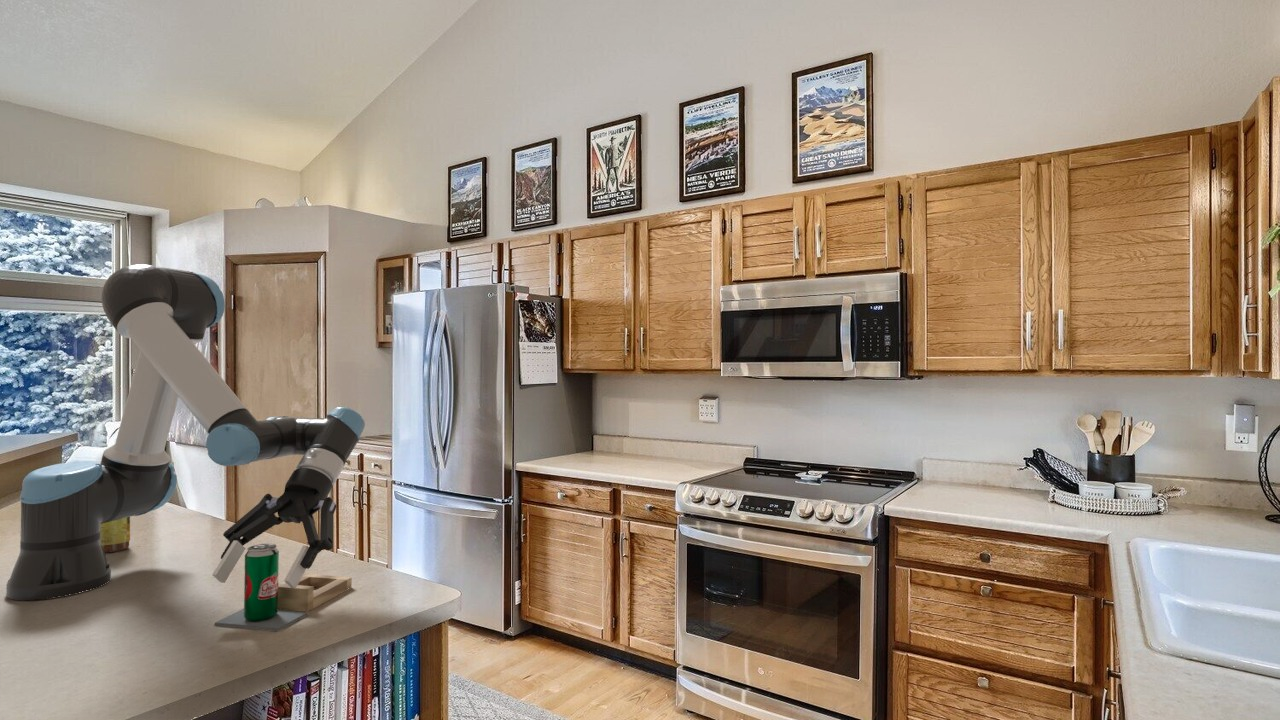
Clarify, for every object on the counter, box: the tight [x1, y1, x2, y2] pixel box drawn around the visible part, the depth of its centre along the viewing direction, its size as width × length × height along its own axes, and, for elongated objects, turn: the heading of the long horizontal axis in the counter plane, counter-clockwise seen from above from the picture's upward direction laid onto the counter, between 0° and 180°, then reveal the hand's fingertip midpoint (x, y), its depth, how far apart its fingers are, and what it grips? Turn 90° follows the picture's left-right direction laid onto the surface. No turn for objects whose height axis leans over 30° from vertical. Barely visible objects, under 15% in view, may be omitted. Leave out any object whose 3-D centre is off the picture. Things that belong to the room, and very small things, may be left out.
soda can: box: [243, 543, 280, 622], centre depth 113 cm, size 5×5×12 cm
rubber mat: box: [214, 608, 308, 632], centre depth 112 cm, size 12×7×1 cm, turn 80°
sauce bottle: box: [100, 517, 131, 554], centre depth 152 cm, size 7×6×20 cm
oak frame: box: [278, 573, 353, 613], centre depth 124 cm, size 10×13×4 cm
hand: (253, 582), depth 111 cm, fingers open, 13 cm apart
